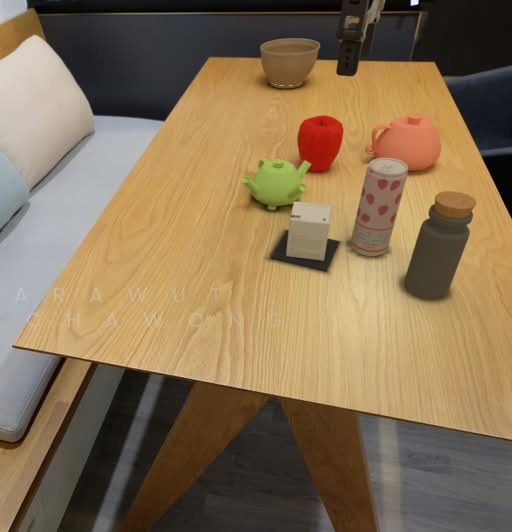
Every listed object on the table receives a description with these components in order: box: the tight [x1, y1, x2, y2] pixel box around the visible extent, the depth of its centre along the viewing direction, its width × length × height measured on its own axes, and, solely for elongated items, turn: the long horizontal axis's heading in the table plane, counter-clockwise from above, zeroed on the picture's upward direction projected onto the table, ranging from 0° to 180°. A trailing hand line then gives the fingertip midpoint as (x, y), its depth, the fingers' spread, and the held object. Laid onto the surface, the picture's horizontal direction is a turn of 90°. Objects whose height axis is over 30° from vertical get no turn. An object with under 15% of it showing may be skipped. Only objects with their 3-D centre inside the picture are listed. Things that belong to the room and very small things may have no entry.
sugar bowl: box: [364, 113, 442, 171], centre depth 106 cm, size 12×14×10 cm
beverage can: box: [349, 158, 409, 257], centre depth 83 cm, size 6×6×15 cm
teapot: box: [241, 158, 311, 211], centre depth 99 cm, size 11×12×8 cm
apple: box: [296, 114, 345, 173], centre depth 108 cm, size 9×9×11 cm
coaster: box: [270, 229, 340, 273], centre depth 88 cm, size 9×9×1 cm
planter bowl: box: [259, 37, 321, 89], centre depth 151 cm, size 16×16×11 cm
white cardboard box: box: [286, 200, 333, 261], centre depth 85 cm, size 6×6×7 cm
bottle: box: [403, 190, 477, 300], centre depth 73 cm, size 6×6×15 cm
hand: (353, 64), depth 64 cm, fingers open, 8 cm apart
